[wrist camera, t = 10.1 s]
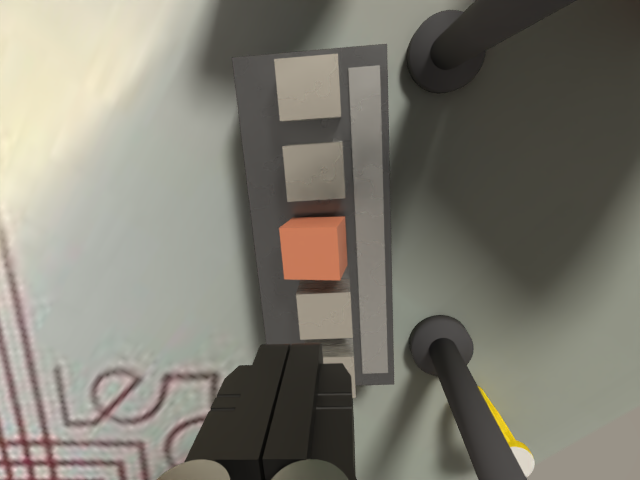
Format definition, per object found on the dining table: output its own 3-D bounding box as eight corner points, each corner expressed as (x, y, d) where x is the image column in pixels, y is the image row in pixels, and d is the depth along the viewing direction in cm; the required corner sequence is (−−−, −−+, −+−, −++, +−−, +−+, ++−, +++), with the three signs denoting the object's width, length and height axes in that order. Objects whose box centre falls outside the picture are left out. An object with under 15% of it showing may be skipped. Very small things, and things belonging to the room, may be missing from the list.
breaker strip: (378, 60, 24) (391, 34, 18) (385, 343, 30) (398, 405, 23) (252, 71, 25) (220, 49, 18) (282, 346, 30) (265, 408, 24)
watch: (447, 385, 31) (468, 438, 25) (478, 368, 30) (507, 418, 25) (487, 441, 32) (515, 505, 26) (518, 425, 31) (554, 487, 25)
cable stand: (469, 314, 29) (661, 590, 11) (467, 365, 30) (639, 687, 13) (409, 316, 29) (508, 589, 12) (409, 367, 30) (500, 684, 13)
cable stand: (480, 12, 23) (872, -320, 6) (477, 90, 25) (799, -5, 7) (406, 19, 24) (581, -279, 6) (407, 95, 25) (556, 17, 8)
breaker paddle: (344, 216, 21) (336, 227, 19) (347, 264, 22) (340, 280, 20) (292, 217, 22) (279, 228, 20) (296, 264, 23) (284, 279, 21)
